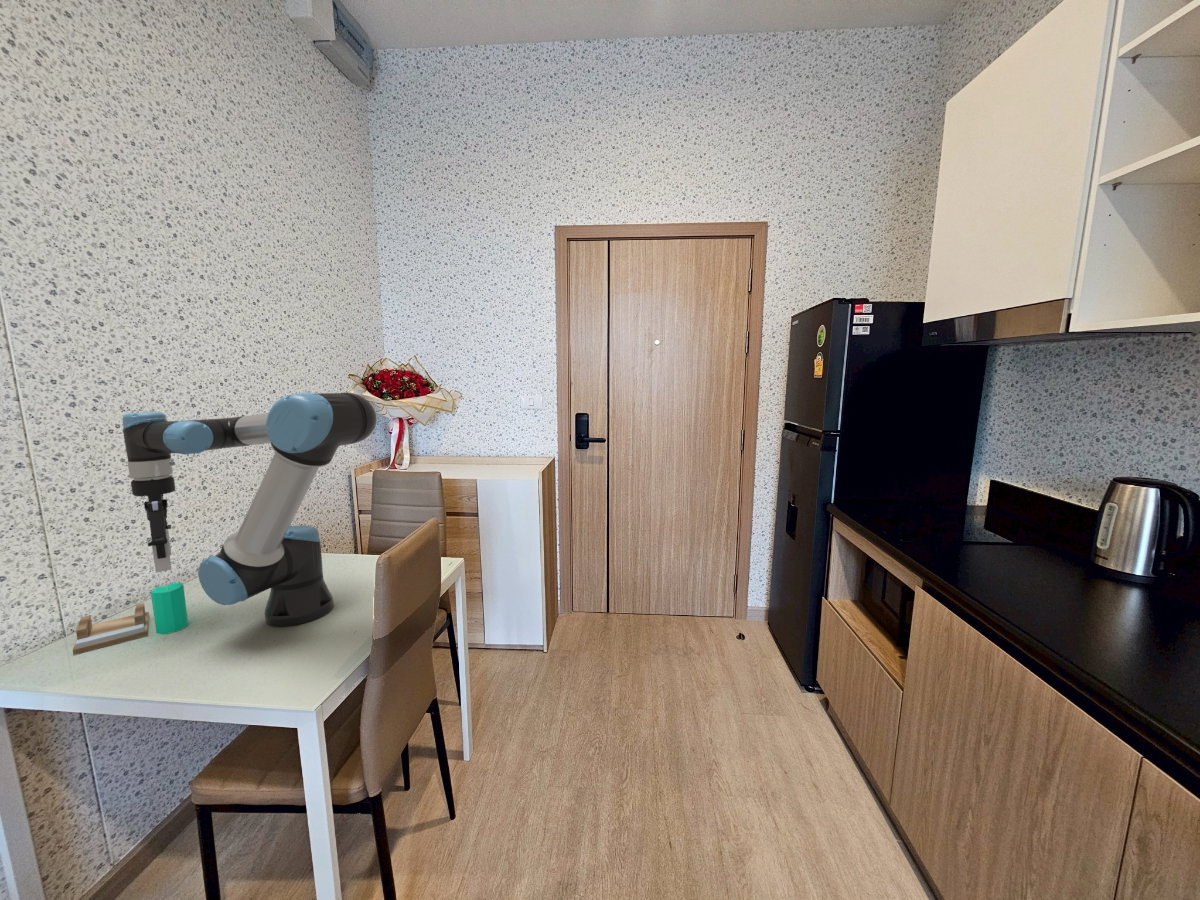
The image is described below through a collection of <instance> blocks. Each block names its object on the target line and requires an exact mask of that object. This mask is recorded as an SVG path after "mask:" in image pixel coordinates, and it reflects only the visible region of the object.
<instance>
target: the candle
mask: <svg viewBox="0 0 1200 900" xmlns="http://www.w3.org/2000/svg"><path fill="white" fill-rule="evenodd" d="M165 583H166V584H165V585H162V586H156V587H155V588H154V589H152V590H151V591H150V598H151V604H152V611H153V613H152V614H153V619H154V625H155V633H156V634H158V635H167V634H172V633H175V632H179V631H181V630H184V629H185V628H187V627H188V626H189V618H188V610H187V602H186V601H187V600H186V594H185V588H184V583H182V582H172V583H170V584H168V582H167V581H166V582H165Z"/></svg>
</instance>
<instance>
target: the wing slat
mask: <svg viewBox="0 0 1200 900" xmlns="http://www.w3.org/2000/svg"><path fill="white" fill-rule="evenodd" d="M143 631H144V624H140V625H136V626H132V627H128V628H124V629H120V630H116V631H111V632H107V633H103V634H99V635H95V636H91V637H87V638H83V639H79V640H77V639H76V640H77V642H76V641H75V642H76V648H80V647H84V646H88V645H92V644H95V643H99V642H103V641H107V640H111V639H115V638H119V637H123V636H127V635H131V634H135V633H139V632H143Z"/></svg>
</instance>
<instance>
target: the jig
mask: <svg viewBox="0 0 1200 900" xmlns="http://www.w3.org/2000/svg"><path fill="white" fill-rule="evenodd" d="M149 622H150V614H149V611H146V607H145V603H144V602H143V603H138V604H135V610H134V614H132V615H129V616H124V617H119V618H116V619H111V620H107V621H104V622H99V623H93V624H92V616H91V615H86V616H82V617H81V618H80V620H79V622H78V625H77V627H76V630H75V632H76V640H75V642H74V645H73V647H72V654H73V656H75V655H78V654H83V653H88V652H92V651H95V650H98V649H102V648H106V647H110V646H113V645H117V644H122V643H126V642H130V641H133V640H138V639H141V638H144V637H148V634H149V633H148V632H149ZM140 624H144V631H143V632H139V633H135V634H131V635H127V636H123V637H119V638H115V639H111V640H107V641H103V642H99V643H95V644H92V645H88V646H84V647H80V648H76V642H77V640H79V639H83V638H87V637H91V636H95V635H99V634H103V633H107V632H111V631H116V630H120V629H124V628H128V627H132V626H136V625H140Z"/></svg>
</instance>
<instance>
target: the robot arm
mask: <svg viewBox="0 0 1200 900" xmlns="http://www.w3.org/2000/svg"><path fill="white" fill-rule="evenodd" d="M376 425H377V412H376V411H375V408H374V406H373V405H372V403H371V402H370V401H368V400H367V399H366V398H365V397H364V396H361V395H359V394H355V393H351V392H331V393H330V392H327V393H324V392H323V393H320V392H319V393H315V392H309V391H307V392H300V393H292V394H289V395H285V396H282V397H280V399H278V400H277V401H275V403H274V404H273V405H272V406H271V408H270V409H269V411H268V413H267V412H266V413H265V412H264V413H258V414H251V415H245V416H234V417H225V418H221V417H220V418H211V419H210V418H208V419H207V418H206V419H191V420H190V419H189V420H167V416H166V414H164V412H160V411H159V412H157V411H153V412H152V411H150V412H131V413H128V412H127V413H125V414H124V415H123V416H122V433H123V439H124V446H125V451H126V458H127V466H128V467H127V468H128V475H129V478H130V479H132V480H131V481H130V488H131V494H132V495H133V496H134V497H147V501H144V504H143V505H144V510H145V512H146V518H147V519H146V520H147V521H149V527H150V528H149V529H150V537H151V538H150V539H151V541H150V542H147V546H148V547H151V548H152V555H153V563H154V568H155V569H154V570H155V573H163V572H165V571H172V570H173V569H172V563H171V562H172V561H171V556H172V547H171V541H170V540H171V539H170V532H169V530H172V524H168V521H167V518H168V499H167V498H166V499H165V498H164V495H166V494H171V493H173V492H175V490H176V484H175V477H174V476H172V475H173V473H174V471H173V466H176V462H175V461H172V455H171V454H179V455H186V456H187V455H194V454H201V453H203V452H206V451H212V450H213V451H214V450H219V449H228V448H230V449H231V448H238V447H249V446H254V445H255V446H256V445H264V444H270V447H271V449H272V450H273V451H274V455H273V456H272V459H271V461H270V463H269V465H268V467H267V469H266V472H265V474H264V476H263V478H262V479H261V480H262V481H260V483H259V484H260V485H259V487H258V489H257V491H256V492H255V495H254V497H253V500H252V501H251V504H250V506H249V507H248V510H247V512H246V514H245V516H244V518H243V520H242V523H241V525H240V527H239V529H238V531H237V532H234V533H232V534H230V535H229V536H228V537H227V538H226V539H225V540H224V542H223V544H222V546H221V549H220V551H219V553H217V554H216V555H210V556H209V557H207V558H205V559H203V560H202V561H201V562H200V564H199V566H198V570H197V571H198V572H197V573H198V581H199V583H200V587H202V590H203V591H204V593H205V595H207V596H208V598H210V599H211V600H212V601H214V602H215V603H217V604H219V605H222V606H233V605H235V604H238V603H239V602H245V601H246V600H249V599H250V598H252V597H254V596H256V595H258V594H260V593H263V592H265V591H267V590H269V589H270V592H269V596H268V600H267V603H266V606H265V609H264V619H265V620H264V621H265V623H266V624H267V625H270V626H271V627H273V626H274V627H291V626H296V625H301V624H305V623H309V622H312V621H316V619H320V618H321V617H323V616H326V615H327V614H329V612H331V610H332V609H333V608H334V598H333V595H332V593H331V592H330V589H329V587H328V586H327V583H326V581H325V579H324V572H323V570H324V569H323V559H322V546H321V543H322V540H321V539H320V533H319V529H318V528H317V527H314V526H310V525H291V524H292V523H293V521H294V519H295V517H296V514H297V513H298V511H299V508H300V506H301V505H302V502H303V501H304V500H305V499H304V498H305V497H306V494H307V492H308V490H309V489H310V487H311V484H312V483H313V480H314V479H315V477H316V474H317V472H318V471H319V468H321V467H325V466H327V465H329V464H330V463H331V462H332V460H333V458H334V457H335V454H336V453H337V450H338V448H339V447H340V446H347V445H352V444H356V443H357V444H358V443H359V442H362V441H364V440H366V439H367V438H368V437H370V436H371V434H372V433H373V432H374V430H375V427H376Z"/></svg>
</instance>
